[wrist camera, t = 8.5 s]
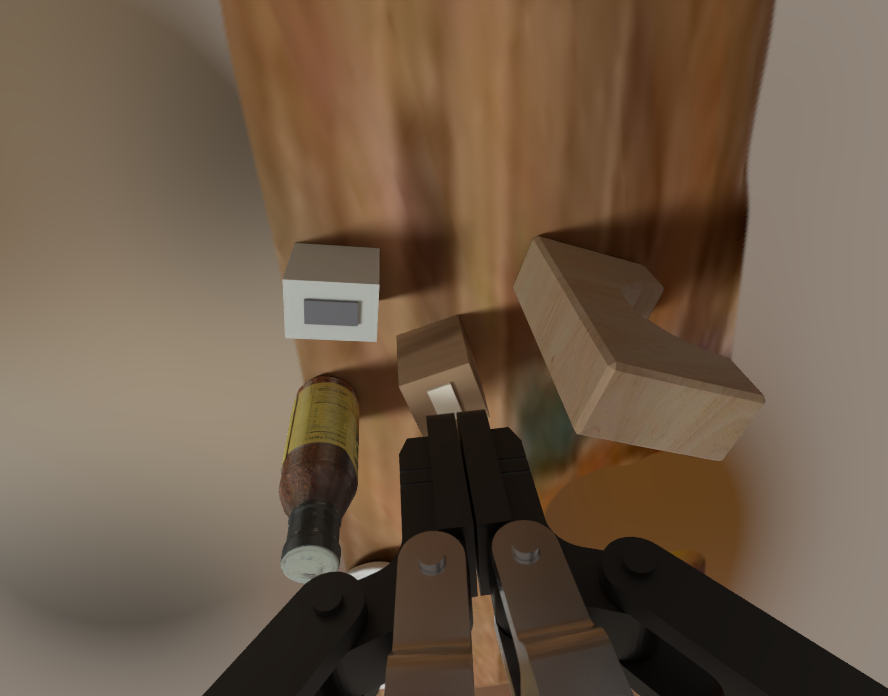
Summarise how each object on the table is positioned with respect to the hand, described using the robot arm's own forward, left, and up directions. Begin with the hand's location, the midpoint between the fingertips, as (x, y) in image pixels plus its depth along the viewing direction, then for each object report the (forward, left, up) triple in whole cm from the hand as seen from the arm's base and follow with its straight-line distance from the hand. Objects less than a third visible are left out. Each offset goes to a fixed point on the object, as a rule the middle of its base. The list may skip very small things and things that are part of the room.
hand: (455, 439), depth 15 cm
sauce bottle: (+24, -10, -35) cm, 44 cm away
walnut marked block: (+20, +1, -35) cm, 40 cm away
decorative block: (+14, +14, -35) cm, 40 cm away
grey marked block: (+11, -7, -35) cm, 37 cm away
